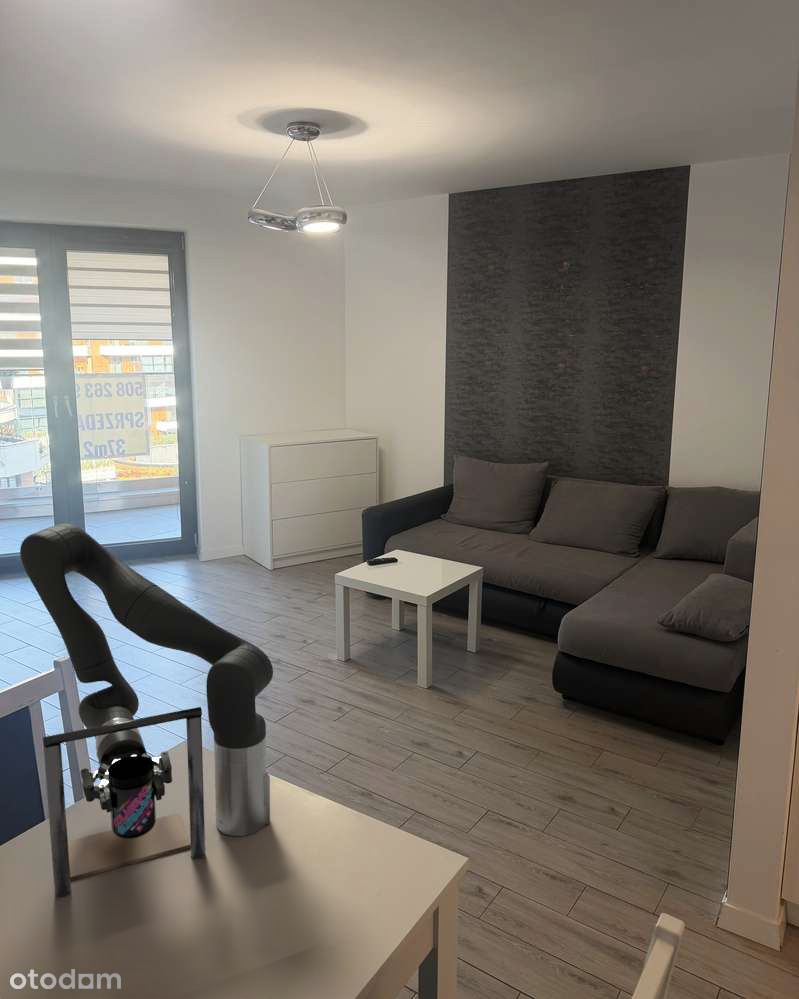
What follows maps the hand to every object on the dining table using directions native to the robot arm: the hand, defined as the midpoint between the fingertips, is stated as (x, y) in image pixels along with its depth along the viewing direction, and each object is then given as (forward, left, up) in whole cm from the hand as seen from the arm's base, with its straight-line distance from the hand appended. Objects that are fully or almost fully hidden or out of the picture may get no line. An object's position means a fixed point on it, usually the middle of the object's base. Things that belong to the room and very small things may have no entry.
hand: (134, 800), depth 115 cm
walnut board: (0, -14, -18) cm, 23 cm away
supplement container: (0, -2, -6) cm, 7 cm away
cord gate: (0, -7, -18) cm, 19 cm away
